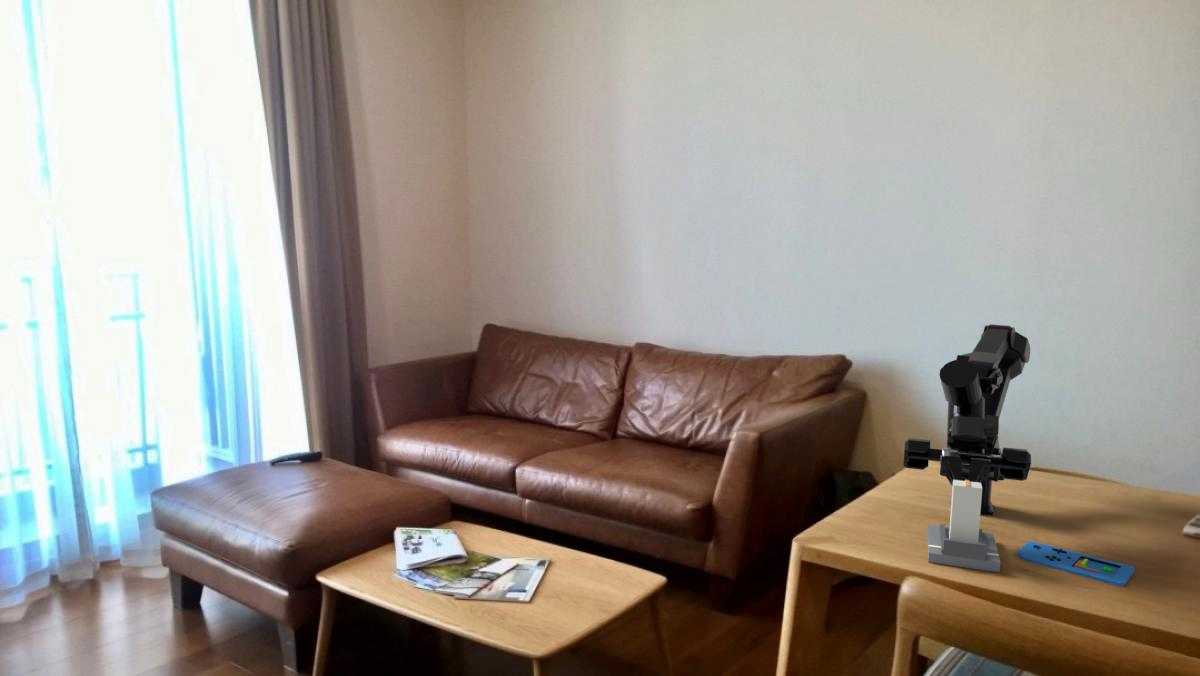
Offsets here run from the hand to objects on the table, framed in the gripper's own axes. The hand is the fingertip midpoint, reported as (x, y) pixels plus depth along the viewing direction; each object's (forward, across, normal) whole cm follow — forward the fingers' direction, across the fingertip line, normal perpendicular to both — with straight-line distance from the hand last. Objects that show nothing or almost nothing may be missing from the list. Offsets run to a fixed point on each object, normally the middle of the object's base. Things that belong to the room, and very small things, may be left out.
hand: (963, 505), depth 131 cm
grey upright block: (+5, 0, +3) cm, 6 cm away
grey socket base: (+5, 0, +6) cm, 8 cm away
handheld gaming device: (+4, +16, +7) cm, 18 cm away
